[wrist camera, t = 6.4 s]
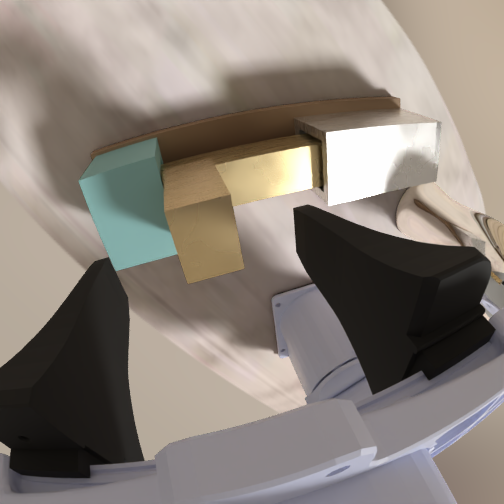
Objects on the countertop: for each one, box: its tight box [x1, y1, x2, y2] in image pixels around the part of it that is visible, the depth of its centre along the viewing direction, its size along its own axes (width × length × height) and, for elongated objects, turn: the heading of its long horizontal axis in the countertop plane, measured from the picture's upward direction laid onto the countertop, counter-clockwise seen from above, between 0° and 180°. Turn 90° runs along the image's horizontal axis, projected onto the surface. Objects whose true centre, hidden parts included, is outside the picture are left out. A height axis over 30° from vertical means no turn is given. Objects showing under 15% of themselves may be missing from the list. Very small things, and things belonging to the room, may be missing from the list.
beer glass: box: [396, 182, 504, 320], centre depth 21 cm, size 7×7×15 cm
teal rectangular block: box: [79, 137, 177, 271], centre depth 17 cm, size 6×4×4 cm
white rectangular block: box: [294, 108, 441, 206], centre depth 19 cm, size 4×9×4 cm, turn 98°
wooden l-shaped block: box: [160, 133, 324, 284], centre depth 16 cm, size 4×13×8 cm, turn 98°
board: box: [91, 97, 400, 164], centre depth 20 cm, size 6×22×1 cm, turn 98°
